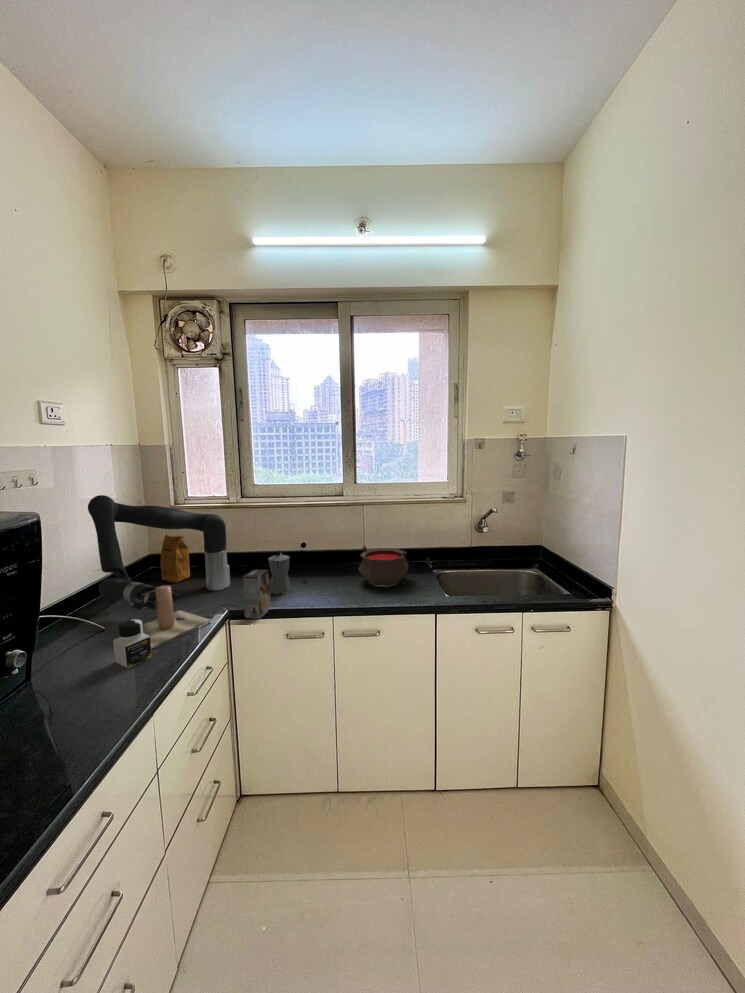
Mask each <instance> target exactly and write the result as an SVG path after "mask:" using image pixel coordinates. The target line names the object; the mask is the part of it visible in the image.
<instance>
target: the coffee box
mask: <svg viewBox="0 0 745 993" xmlns="http://www.w3.org/2000/svg"><path fill="white" fill-rule="evenodd" d="M269 573H270V569H258V568H257V569H252V570H251V571H249V572H247V573H245V575H243V576H242V577H241V578H242V593H243V604H244V605H243V607H244V617H245V619H257V620H258V619H262V618H263V617H264V616H265V615H267V613H269V611H270V610H269V608H270V607H271V606H272V603H271V592H270V585H271V584H270V574H269ZM271 608H272V607H271ZM268 610H269V611H268Z"/></svg>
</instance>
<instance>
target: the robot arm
mask: <svg viewBox="0 0 745 993" xmlns="http://www.w3.org/2000/svg"><path fill="white" fill-rule="evenodd" d="M87 510H88V513H89V515H90V516H91V519H92V521H93V524H94V527H95V532H96V537H97V539H96V540H97V545H98V546H97V547H98V555H99V561H100V566H101V571H102V572H103V573H107V574H109V573H110V574H111V573H112V574H114V575H115V577H110V578H105V579H104V580H102V581H101V582H100V583H99V585H98V592H99V594H100V595H101V596H102V597H103V598H106V599H111V600H113V599H114V600H115V599H117V600H120V599H121V600H124V601H127V602H129V603H130V605H129V606H130V608H133V609H135V610H137V611H141V610H142V609H143V608H144V609H151V610H155V609H156V610H157V601H156V591H155V589H156V587H155V586H154V585H150V584H147V583H143V582H137V581H133V580H132V579H131V578H130V576H129V574H128V572H127V570H126V568H125V565H124V563H123V558H122V552H121V548H120V544H119V540H118V536H117V530H116V523H127V524H133V525H139V526H143V527H149V528H152V529H153V528H154V529H155V528H156V529H162V530H163V529H164V530H192V531H193V530H195V531H200V532H203V534H202V535H203V551H204V565H205V579H206V589H207V590H208V591H211V592H212V591H221V590H225V589H227V588H228V587H230V586H231V574H230V573H231V571H230V565H229V564H228V555H227V553H228V552H227V528H226V522H225V521H224V518H222V517H221V516H220V515H218V514H215V513H214V514H212V513H197V512H190V511H185V510H182V509H177V508H173V507H172V508H171V507H166V506H160V505H129V504H128V505H127V504H124V503H118V502H115V500H114V499H113V498H111V497H110V496H107V495H103V494H101V495H95V496H94V497H92V498H91V499H90V500H89V502H88V504H87ZM226 587H227V588H226ZM224 588H225V589H224ZM171 592H172V601H177V602H178V601H179V600H180V594H179V593H178V589H177V588H172V587H171Z"/></svg>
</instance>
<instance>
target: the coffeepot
mask: <svg viewBox="0 0 745 993" xmlns="http://www.w3.org/2000/svg"><path fill="white" fill-rule="evenodd" d="M290 560H291V557H290V556H289V555H288V554H287V555H286V554H283V552H281V551H280V550H278V551H277V550H276V555H271V556H270V557H268V558H267V561H268V564H269V565H268V566H269V572H270V574H271V578H270V584H269V585H270V591H271V592H272V593H284V592H288V591H289V590H290V589H291V590H292V588H291V583H290V577H289V575H288V572H290V571H289V570H290ZM291 590H290V591H291ZM290 591H289V592H290ZM271 592H270V593H271ZM289 592H288V593H289ZM272 593H271V594H272Z"/></svg>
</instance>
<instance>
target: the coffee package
mask: <svg viewBox="0 0 745 993" xmlns="http://www.w3.org/2000/svg"><path fill="white" fill-rule="evenodd" d="M190 565H191V564H190V554H189V547H188V546H187V544H186V543H185V542H184V536H183V535H177V536H175V535H173V536H171V535H169V534H165V536H164V538H163V542H162V546H161V550H160V570H161V581H162V580H166V581H165V582H168V581H169V582H168V583H180V582H181V581H183V580H186V579H188V578H190V577H191V571H190V570H191V568H190ZM179 581H180V582H179Z"/></svg>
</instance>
